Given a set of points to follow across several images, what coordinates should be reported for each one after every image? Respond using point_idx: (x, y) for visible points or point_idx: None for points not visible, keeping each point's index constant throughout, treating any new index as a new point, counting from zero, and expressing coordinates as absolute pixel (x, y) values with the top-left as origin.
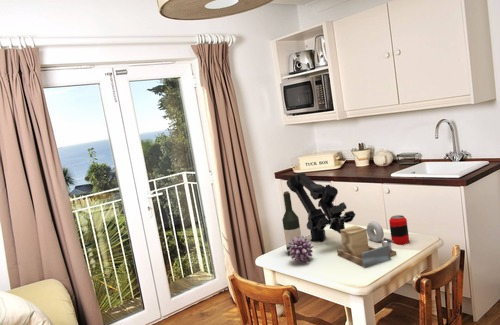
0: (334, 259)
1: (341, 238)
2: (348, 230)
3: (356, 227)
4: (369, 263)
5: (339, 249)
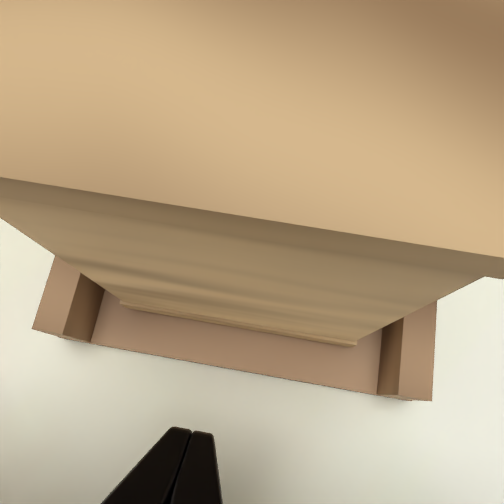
0: (486, 355)
1: (417, 308)
2: (391, 8)
3: (62, 7)
4: None
5: (401, 372)
